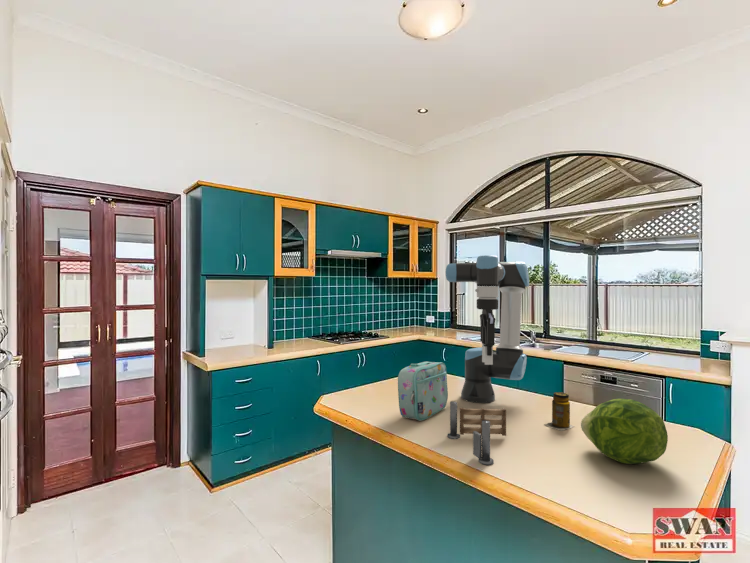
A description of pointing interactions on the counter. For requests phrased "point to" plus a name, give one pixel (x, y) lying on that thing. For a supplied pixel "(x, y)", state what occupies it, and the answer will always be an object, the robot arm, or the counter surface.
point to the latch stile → (482, 444)
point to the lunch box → (422, 390)
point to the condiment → (560, 412)
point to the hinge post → (453, 421)
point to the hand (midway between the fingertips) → (487, 363)
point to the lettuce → (626, 431)
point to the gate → (479, 420)
